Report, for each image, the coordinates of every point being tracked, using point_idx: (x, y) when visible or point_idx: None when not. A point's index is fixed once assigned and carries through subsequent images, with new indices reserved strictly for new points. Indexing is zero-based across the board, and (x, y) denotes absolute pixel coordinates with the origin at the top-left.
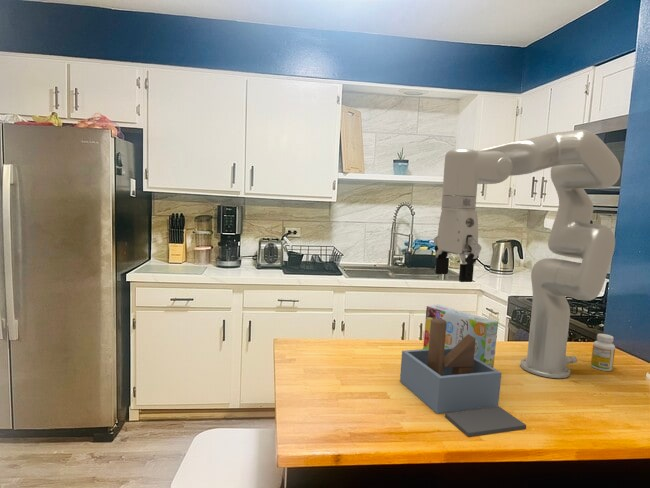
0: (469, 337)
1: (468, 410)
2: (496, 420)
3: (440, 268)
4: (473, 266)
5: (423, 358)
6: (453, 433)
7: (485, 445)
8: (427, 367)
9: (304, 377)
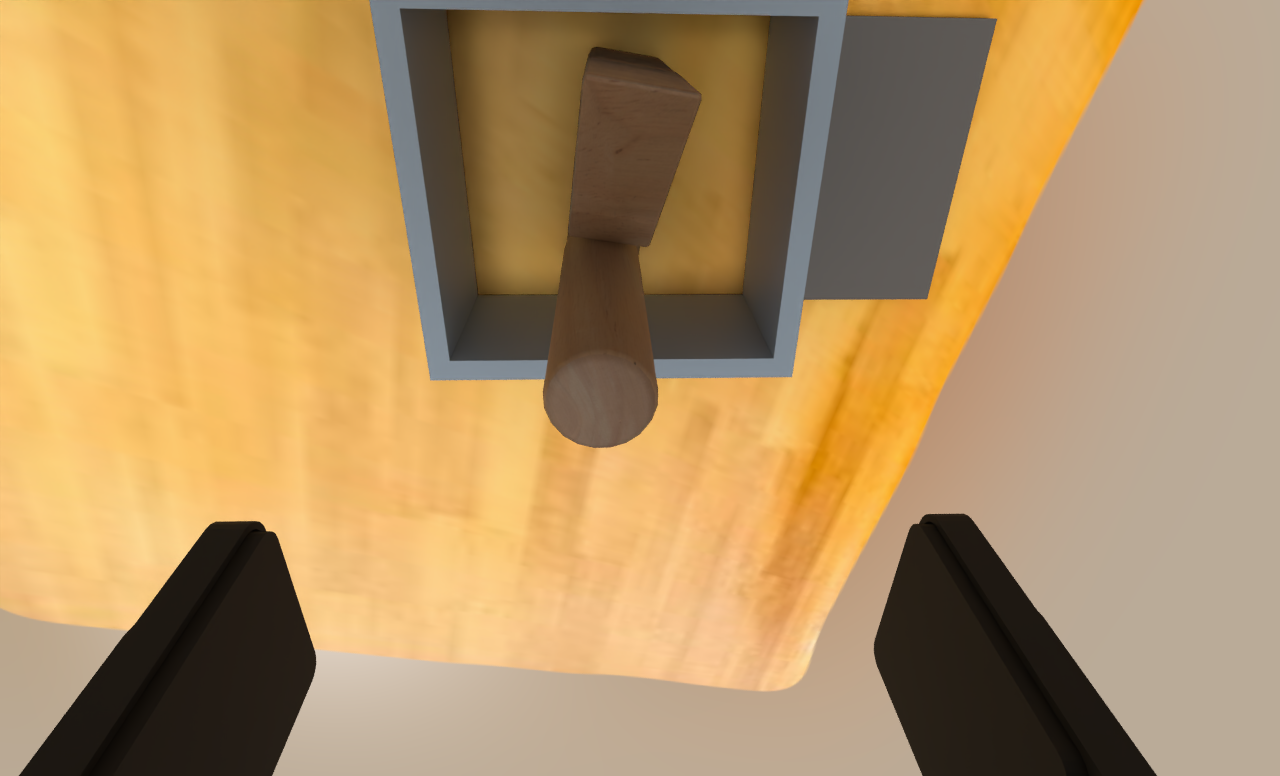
0: (635, 101)
1: None
2: (911, 131)
3: (274, 713)
4: (1121, 735)
5: (445, 247)
6: (882, 326)
7: (982, 268)
8: (668, 366)
9: (401, 601)
